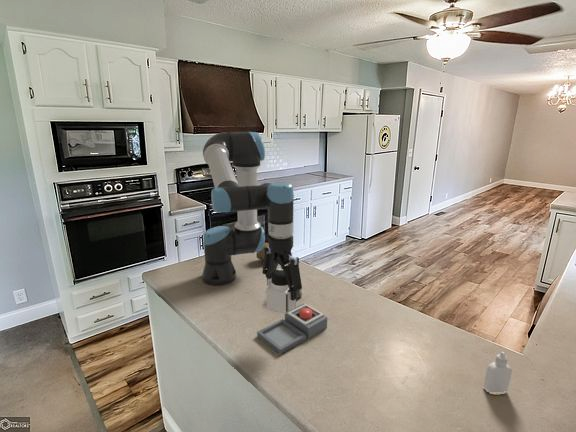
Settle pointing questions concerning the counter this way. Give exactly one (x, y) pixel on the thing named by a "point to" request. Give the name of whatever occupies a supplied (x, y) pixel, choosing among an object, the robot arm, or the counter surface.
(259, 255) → the natural sponge
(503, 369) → the eye dropper bottle
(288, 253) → the robot arm
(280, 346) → the console
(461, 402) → the counter surface
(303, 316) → the button
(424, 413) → the counter surface
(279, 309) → the medicine bottle
